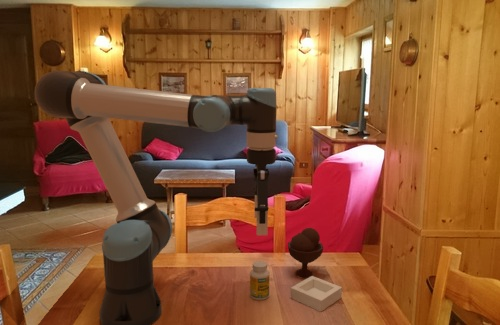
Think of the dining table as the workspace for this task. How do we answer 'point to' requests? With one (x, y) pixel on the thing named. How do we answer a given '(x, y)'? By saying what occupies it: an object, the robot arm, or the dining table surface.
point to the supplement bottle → (259, 281)
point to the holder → (316, 293)
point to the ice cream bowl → (305, 250)
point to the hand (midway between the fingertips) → (260, 225)
